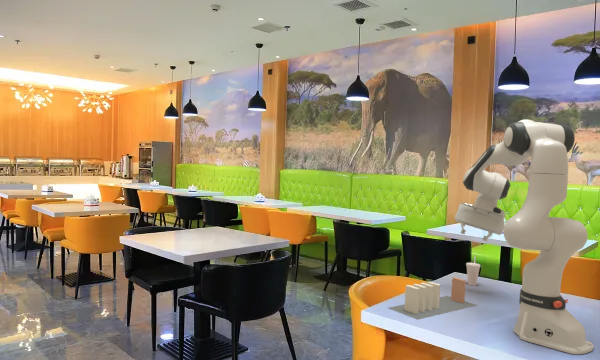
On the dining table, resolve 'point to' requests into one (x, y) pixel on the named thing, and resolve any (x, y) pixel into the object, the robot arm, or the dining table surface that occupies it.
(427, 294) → the ivory domino
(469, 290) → the dining table surface
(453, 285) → the terracotta domino
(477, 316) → the dining table surface
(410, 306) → the ivory domino
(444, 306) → the rubber mat
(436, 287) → the ivory domino
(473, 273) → the smoothie
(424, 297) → the ivory domino
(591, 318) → the dining table surface
